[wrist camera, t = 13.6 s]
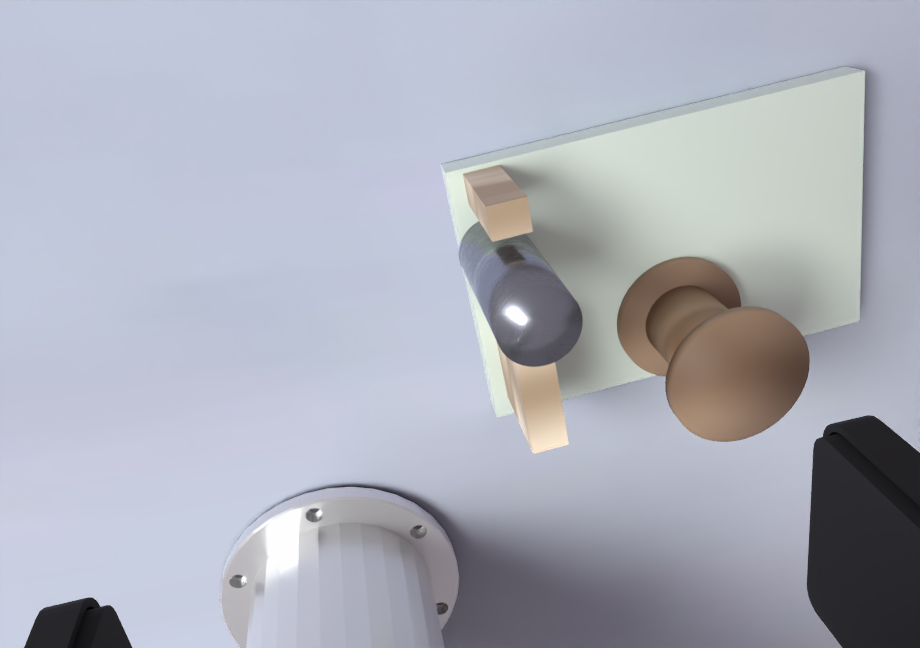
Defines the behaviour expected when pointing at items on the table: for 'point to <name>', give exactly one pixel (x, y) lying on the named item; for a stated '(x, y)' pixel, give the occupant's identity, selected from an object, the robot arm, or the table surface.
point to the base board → (691, 212)
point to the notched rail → (526, 386)
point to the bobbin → (712, 349)
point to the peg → (520, 297)
